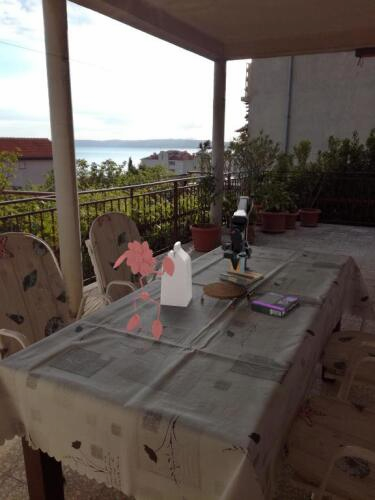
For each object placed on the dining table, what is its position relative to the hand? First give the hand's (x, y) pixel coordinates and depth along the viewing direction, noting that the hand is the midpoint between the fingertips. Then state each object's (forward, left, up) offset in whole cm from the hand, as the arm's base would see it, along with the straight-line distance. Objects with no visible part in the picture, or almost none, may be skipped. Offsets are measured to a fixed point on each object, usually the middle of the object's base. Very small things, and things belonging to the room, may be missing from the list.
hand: (237, 269), depth 202 cm
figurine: (+79, +10, -6) cm, 80 cm away
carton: (0, 0, -2) cm, 2 cm away
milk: (+43, -4, -6) cm, 43 cm away
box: (+19, +32, -7) cm, 37 cm away
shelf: (-6, 0, -6) cm, 8 cm away
